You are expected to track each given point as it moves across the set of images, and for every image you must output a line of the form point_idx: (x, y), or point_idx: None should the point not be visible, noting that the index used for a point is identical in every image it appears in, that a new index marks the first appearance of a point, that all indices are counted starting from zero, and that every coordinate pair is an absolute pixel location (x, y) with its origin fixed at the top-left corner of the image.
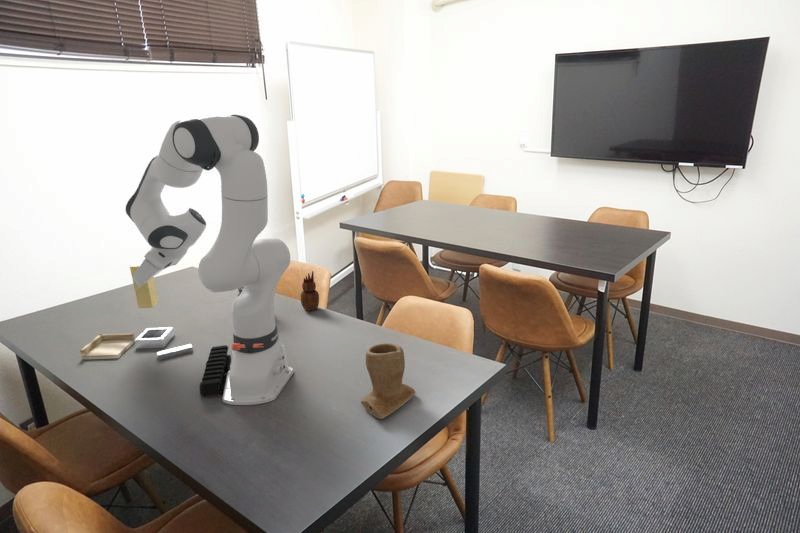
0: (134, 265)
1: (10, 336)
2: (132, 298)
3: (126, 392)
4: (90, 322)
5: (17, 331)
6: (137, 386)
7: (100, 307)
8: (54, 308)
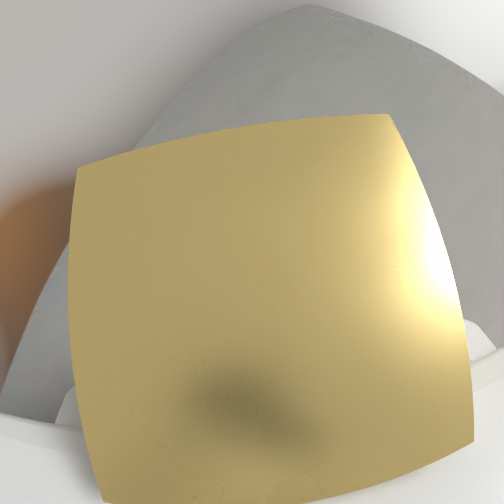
0: (134, 216)
1: (258, 26)
2: (470, 113)
3: (39, 398)
4: (347, 90)
5: (278, 23)
6: (57, 412)
7: (412, 76)
8: (372, 24)
